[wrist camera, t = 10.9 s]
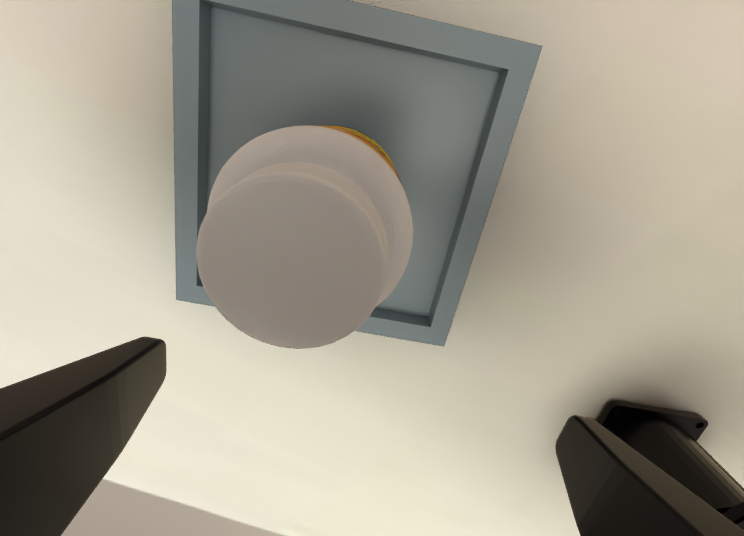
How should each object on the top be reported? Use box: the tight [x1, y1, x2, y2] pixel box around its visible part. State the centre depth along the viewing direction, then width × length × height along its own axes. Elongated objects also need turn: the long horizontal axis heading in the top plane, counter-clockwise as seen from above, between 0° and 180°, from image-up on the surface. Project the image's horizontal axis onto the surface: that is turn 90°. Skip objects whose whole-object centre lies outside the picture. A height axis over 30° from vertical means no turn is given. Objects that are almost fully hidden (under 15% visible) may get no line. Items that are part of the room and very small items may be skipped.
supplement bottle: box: [196, 125, 413, 349], centre depth 12 cm, size 6×6×10 cm
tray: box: [172, 0, 542, 346], centre depth 17 cm, size 14×14×2 cm
